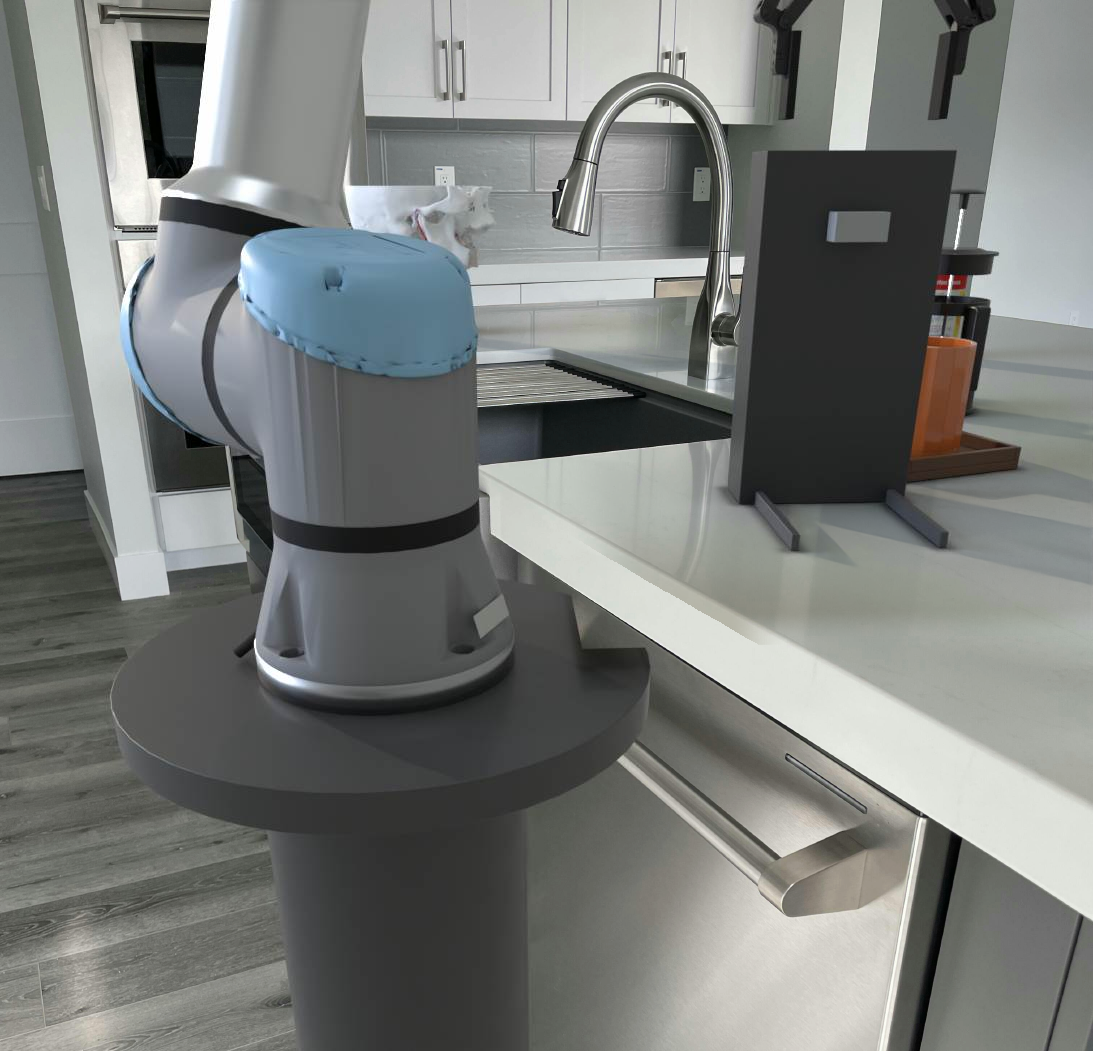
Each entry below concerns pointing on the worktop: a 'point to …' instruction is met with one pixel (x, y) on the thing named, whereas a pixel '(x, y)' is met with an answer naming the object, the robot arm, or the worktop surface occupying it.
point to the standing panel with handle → (836, 327)
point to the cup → (943, 396)
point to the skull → (425, 214)
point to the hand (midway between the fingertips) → (861, 120)
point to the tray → (966, 459)
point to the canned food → (952, 321)
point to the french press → (971, 308)
